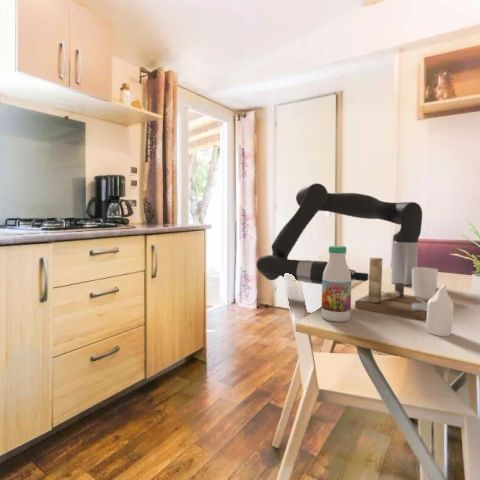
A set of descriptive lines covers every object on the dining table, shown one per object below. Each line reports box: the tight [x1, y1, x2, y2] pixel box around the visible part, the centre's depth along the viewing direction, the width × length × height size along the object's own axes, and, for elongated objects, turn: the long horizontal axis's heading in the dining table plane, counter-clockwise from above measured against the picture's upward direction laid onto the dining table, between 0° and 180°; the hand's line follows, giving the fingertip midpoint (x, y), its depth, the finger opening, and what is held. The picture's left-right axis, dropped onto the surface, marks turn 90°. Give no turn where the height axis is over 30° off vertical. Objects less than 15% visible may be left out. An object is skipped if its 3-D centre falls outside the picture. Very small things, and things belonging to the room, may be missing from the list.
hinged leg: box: [368, 257, 405, 303], centre depth 106 cm, size 16×4×13 cm, turn 122°
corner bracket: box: [411, 300, 427, 311], centre depth 97 cm, size 4×4×2 cm
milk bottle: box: [320, 245, 352, 323], centre depth 94 cm, size 8×8×20 cm
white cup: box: [411, 266, 439, 298], centre depth 117 cm, size 8×8×10 cm
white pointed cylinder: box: [425, 284, 454, 337], centre depth 83 cm, size 6×12×6 cm
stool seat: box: [354, 290, 431, 321], centre depth 106 cm, size 19×19×2 cm
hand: (367, 277), depth 104 cm, fingers closed
